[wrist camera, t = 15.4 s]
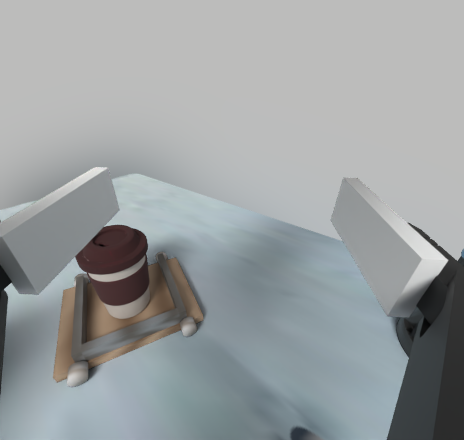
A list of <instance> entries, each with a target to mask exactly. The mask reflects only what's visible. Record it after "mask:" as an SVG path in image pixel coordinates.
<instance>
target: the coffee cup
mask: <svg viewBox="0 0 464 440" xmlns="http://www.w3.org/2000/svg"><path fill="white" fill-rule="evenodd" d="M147 250H148V243H147V239H146V236H145V235H144V234H143V233H142V232H141V231H139V230H137V229H133V228H130V227H128V226H125V225H111V226H106V227H103V228H102V229H101V230H100V231H99V232H98V233H97V234H96V235H95V236H94V237H93V238H92V239H91V241H90V242H89V243H88V244H87V245H86V246H85V247H84V248H83V249H82V250H81V251H80V252H79V253H78V254H77V255H76V256H75V257H76V260H77V262H78V265H79V267H80V268H81V269H82V270H83V271H85V272H87V276H88V278H89V280H90V281H91V283H92V285H93V287H94V289H95V291H96V293H97V295H98V297H99V298H100V300H101V301H102V302H103V303H104V305H105V307H106V309H107V310H108V312H109V314H110V315H111V316H113V317H115V318H119V319H126V318H130V317H133V316H136V315H137V314H139V313H141V312H142V311H143V310H144V309H145V308H146V306H147V305H148V303H149V300H150V291H149V282H150V280H149V271H148V262H147V255H146V252H147Z"/></svg>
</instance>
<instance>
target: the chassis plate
mask: <svg viewBox="0 0 464 440" xmlns="http://www.w3.org/2000/svg"><path fill="white" fill-rule="evenodd" d="M156 260H157V263H155V264H152V265H148V271H149V280H150V282H149V291H150V300H149V303H148V305H147V306H146V308H145V309H144V310H143V311H142V312H141V313H139V314H137V315H136V316H133V317H130V318H126V319H119V318H115V317H113V316H111V315H110V314H109V312H108V310H107V309H106V307H105V305H104V303H103V302H102V301H101V300H100V298H99V297H98V295H97V293H96V291H95V289H94V287H93V285H92V283H91V282H90V283H89V278H88V276H87V274H78V275H77V276H76V277H75V281H74V287H73V288H69V289H66V290H64V291H63V299H62V307H61V316H60V324H59V332H58V341H57V349H56V357H55V366H54V374H53V378H54V379H55V380H56V382H60V381H62V380H64V379H67V385H68V386H69V387H76V386H79V385H82V384H83V383H85V382H86V381H87V380H88V369H90V368H92V367H95V366H97V365H99V364H102V363H104V362H106V361H109V360H111V359H114V358H116V357H118V356H121V355H123V354H125V353H128V352H130V351H132V350H135V349H137V348H139V347H142V346H144V345H146V344H149V343H151V342H153V341H156V340H158V339H160V338H163V337H165V336H168V335H170V334H172V333H175V332H177V331H179V330H182V332H183V335H184V336H185V337H189V336H192V335H193V334H195V333H196V331H197V326H196V323H198V322H200V321H203V314H202V312H201V310H200V308H199V305H198V303H197V301H196V299H195V297H194V295H193V293H192V291H191V288H190V286H189V284H188V282H187V280H186V278H185V276H184V274H183V271H182V269H181V267H180V265H179V263H178V261H177V259H176V258H172V259H169V260H168V258H167V255H166V253H165V252H159V253H157V254H156Z"/></svg>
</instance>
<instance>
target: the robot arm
mask: <svg viewBox="0 0 464 440" xmlns="http://www.w3.org/2000/svg"><path fill="white" fill-rule="evenodd" d="M118 211H119V206H118V202H117V198H116V195H115V191H114V187H113V184H112V180H111V176H110V172H109V169H108V168H102V167H95V168H93V169H91V170H89V171H88V172H86V173H84V174H83V175H81V176H79V177H77V178H76V179H74V180H72V181H71V182H69V183H67V184H66V185H64V186H62V187H61V188H59V189H57V190H55V191H54V192H52V193H50V194H49V195H47V196H45V197H43V198H42V199H40V200H38V201H37V202H35V203H33V204H32V205H30V206H28V207H26V208H25V209H23V210H21V211H20V212H18V213H16V214H15V215H13V216H11V217H9V218H8V219H6V220H4V221H3V222H1V223H0V393H1V380H2V367H3V354H4V341H5V328H6V316H7V303H8V296H7V293H6V292H5V291H4V288H6V287H7V286H8V285H9V284H10V283H12V284H13V285H14V287H15V288H16V290H17V291H18V293H19V294H34V295H39V294H40V293H41V292H42V290H43V289H44V288H45V287H46V286H47V285H48V284H49V283H50V282H51V281H52V280H53V279H54V278H55V277H56V276H57V275H58V274H59V273H60V272H61V271H62V270H63V269H64V268H65V267H66V266H67V264H68V263H69V262H70V261H71V260H72V259H73V258H74V257H75V256H76V255H77V254H78V253H79V252H80V251H81V250H82V249H83V248H84V247H85V246H86V245H87V244H88V243H89V242H90V241H91V239H92V238H93V237H94V236H95V235H96V234H97V233H98V232H99V231H100V230H101V229H102V228H103V227H104V226H105V225H106V224H107V223H108V222H109V221H110V220H111V219H112V218H113V217H114V216H115V215H116V213H117V212H118ZM331 222H332V223H333V225H334V227H335V229H336V230H337V232H338V234H339V235H340V237H341V239H342V240H343V242H344V244H345V245H346V247H347V249H348V251H349V252H350V254H351V256H352V257H353V259H354V261H355V262H356V264H357V266H358V268H359V269H360V271H361V273H362V274H363V276H364V278H365V279H366V281H367V283H368V284H369V286H370V288H371V290H372V291H373V293H374V295H375V296H376V298H377V300H378V301H379V303H380V305H381V307H382V308H383V310H384V312H385V313H386V315H387V316H390V317H401V318H400V319H399V321H398V323H397V334H398V338H399V341H400V343H401V345H402V347H403V349H404V350H405V352H406V353H407V355H408V356H409V360H408V364H407V367H406V371H405V375H404V378H403V382H402V386H401V389H400V393H399V397H398V401H397V404H396V408H395V412H394V415H393V419H392V423H391V426H390V430H389V434H388V437H387V440H464V249H463V250H462V252H461V254H462V255H461V257H460V258H459V260H458V261H457V260H455V259H454V258H453V257H452V256H451V255H449V254H448V253H447V252H446V251H445V250H444V249H443V248H442V247H440V246H438V245H437V243H436V242H435V241H434V240H432V239H430V237H429V236H428V235H427V234H425V233H424V232H423V231H422V230H421V229H419V228H417V227H415V226H413V225H412V224H410V223H407V222H405V221H404V220H403V219H402V218H401V217H400V216H399V215H398V214H397V213H395V212H394V211H393V210H392V209H391V208H390V207H389V206H388V205H386V203H384V202H383V201H382V200H381V199H380V198H379V197H378V196H377V195H376V194H374V193H373V192H372V191H371V190H370V189H369V188H368V187H366V185H365V184H363V183H362V182H361V181H360V180H359V179H358V178H343V180H342V184H341V187H340V191H339V194H338V197H337V201H336V204H335V208H334V211H333V214H332V218H331Z"/></svg>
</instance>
